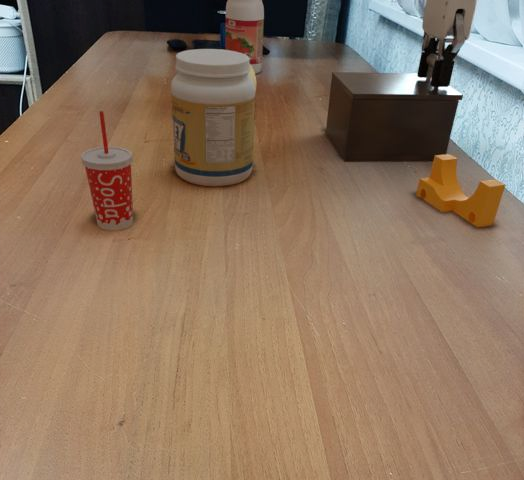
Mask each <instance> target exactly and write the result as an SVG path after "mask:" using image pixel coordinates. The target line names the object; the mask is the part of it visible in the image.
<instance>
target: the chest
mask: <svg viewBox="0 0 524 480" xmlns="http://www.w3.org/2000/svg"><path fill="white" fill-rule="evenodd" d="M329 89H330V90H329V99H328V101H329V102H328V107H327V118H326V125H325V126H326V127H325V135H326V136H327V138H328V139H329V141H330V143H331V144H332V146H333V147H334V148H335V150H336V151H337V152H338V154H339V156H340V157H341V159H342V160H343V162H433V161H434V156H435V155H444V154H447V152H448V148H449V145H450V144H449V143H450V139H451V135H452V131H453V128H454V122H455V120H456V119H455V118H456V114H457V110H458V106H459V102H460V100H401V99H352V98H351V97H350V96H349V95H348V94H347V92H346V91H345V90H344V89H343V88H342V87H341V86H340V85H339V84H338V83H337V82H336V81H335V80H334V79H333V77H332V76H331V80H330V88H329Z"/></svg>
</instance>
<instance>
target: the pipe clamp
mask: <svg viewBox="0 0 524 480" xmlns="http://www.w3.org/2000/svg"><path fill="white" fill-rule="evenodd" d="M457 164H458V157H456V156H454V155H453V154H451V153H446V154H444V155H435V156H434V161H432V165H431V169H430V174H429V177H421V178H419V180H418V184H417V188H416V193H415V197H419V198H421V199H422V200H423V201H425V202H426V203H427V204H429V205H431V206H432V207H433V208H435V209H436V210H438V211H440V212H441V213H447V212H453V213H455V214H456V215H458V216H460V217H461V218H463V220H465V221H467V222H469V223H470V224H471V225H473V226H474V227H476V228H483V227H489V226H494V222H495V220H496V216H497V213H498V210H499V207H500V204H501V200H502V197H503V195H504V190H505V187H506V184H505V183H503V182H501V181H500V180H498V179H496V178H494V179H487V180H480V181H479V182H478V185H477V187H476V190H475V191H474V193H473V194H472V195H470V196H468V195H467V194H465V192H464V191H463V190H462V188H461V186H460V184H459V180H458V173H457Z"/></svg>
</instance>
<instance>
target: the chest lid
mask: <svg viewBox="0 0 524 480" xmlns="http://www.w3.org/2000/svg"><path fill="white" fill-rule="evenodd" d="M435 60H438V56H437V55H435V54H430V55H429V56H428V57H427V59H426V62H427V64H428V65H429V66H428V71H427V76H426V78H419V77H418V76H417V74H418V72H417V73H411V72H410V73H408V72H351V71H332V72H331V78H332V77H333V79H334V80H335V81H336V82H337V83H338V84H339V85H340V86H341V87H342V88H343V89H344V90H345V91H346V92H347V94H348V95H349V96H350V97H351V98H352V99H401V100H459V101H463V98H464V94H462V93H461V92H459V91H458V90H456V89H455V88H453V87H451V86H450V85H449V86H448V87H432V86H431V85H430V83H431V76H432V71H433V68H434V63H435Z"/></svg>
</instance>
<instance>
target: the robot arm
mask: <svg viewBox="0 0 524 480" xmlns="http://www.w3.org/2000/svg"><path fill="white" fill-rule="evenodd" d="M477 4H478V0H425V6H424V11H423V16H422V25H421V27H422V30H423V36H422V38H423V41H422V45H421V52H420V60H419V64H418V70H417V73H418V74H417V76H418V77H419V78H426V76H427V71H428V66H429V65H428V64H427V62H426V59H427V57H428V56H429V55H430V54H435V55H437V56H438V60H435V63H434V68H433V71H432V76H431V83H430V85H431V86H432V87H448V86H450V84H451V79H452V77H453V72H454V67H455V62H456V61H457V59H458V54H459V52H460V51H461V48H462V47H463V46H464V44H465V42H466V41H467V40H469V39H470V37H471V34H472V29H473V24H474V20H475V13H476V9H477ZM448 37H449V38H448ZM450 37H453V38H450ZM446 45H447V46H446Z"/></svg>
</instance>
